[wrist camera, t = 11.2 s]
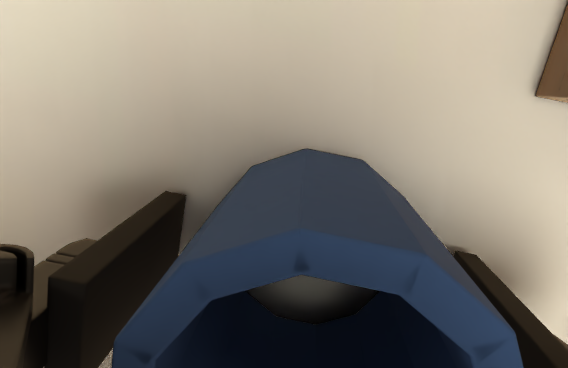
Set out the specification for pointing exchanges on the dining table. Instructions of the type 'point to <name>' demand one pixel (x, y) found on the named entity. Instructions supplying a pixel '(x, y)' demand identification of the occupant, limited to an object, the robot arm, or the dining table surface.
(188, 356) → the sleeve
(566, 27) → the brown base with rod
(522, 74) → the dining table surface
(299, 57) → the dining table surface
